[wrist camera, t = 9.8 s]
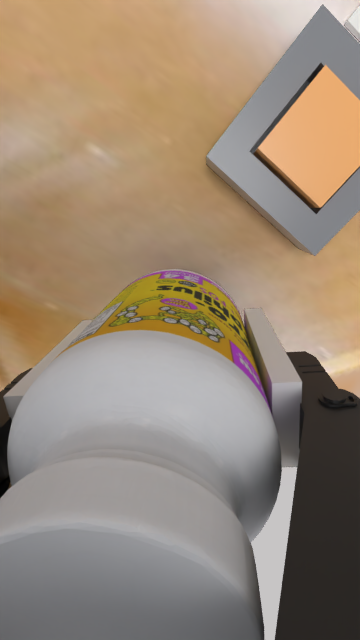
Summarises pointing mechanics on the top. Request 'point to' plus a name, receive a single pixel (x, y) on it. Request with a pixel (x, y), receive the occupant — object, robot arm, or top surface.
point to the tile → (354, 23)
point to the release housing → (263, 115)
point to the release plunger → (315, 140)
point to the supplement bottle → (141, 476)
